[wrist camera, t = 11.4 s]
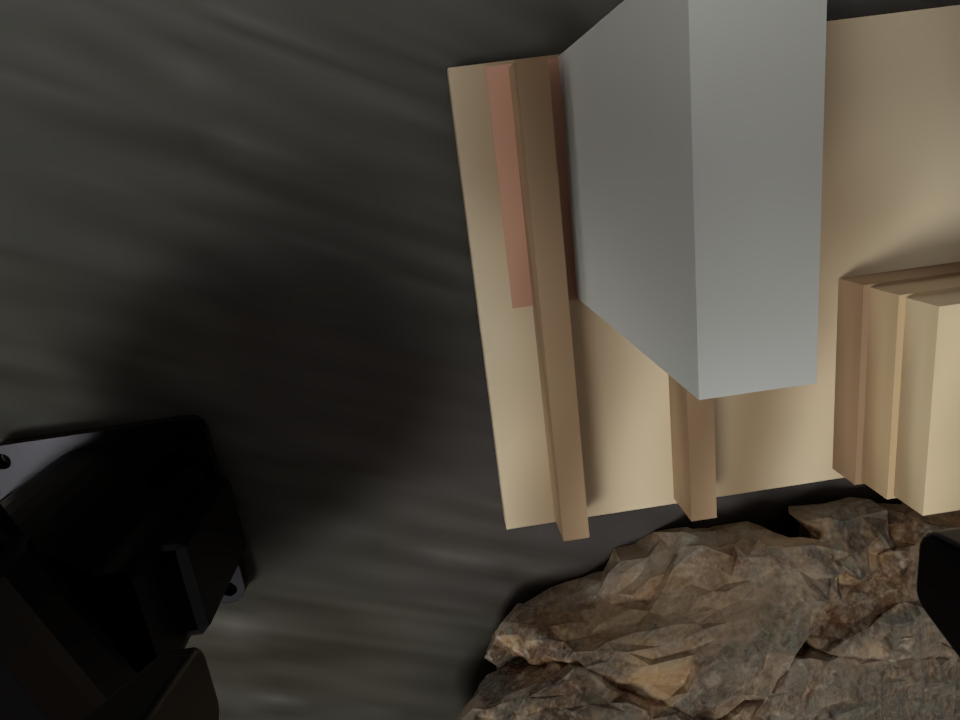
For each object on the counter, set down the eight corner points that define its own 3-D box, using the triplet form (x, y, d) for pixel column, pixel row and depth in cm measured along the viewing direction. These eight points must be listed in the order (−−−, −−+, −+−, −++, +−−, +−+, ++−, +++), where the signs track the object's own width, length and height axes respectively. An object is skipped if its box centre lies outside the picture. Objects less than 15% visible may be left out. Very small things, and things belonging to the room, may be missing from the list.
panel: (577, 298, 19) (698, 400, 11) (557, 56, 18) (687, -53, 9) (643, 288, 20) (816, 383, 11) (631, 47, 18) (828, -70, 9)
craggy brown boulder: (447, 838, 27) (926, 783, 27) (448, 979, 22) (1027, 908, 23) (412, 526, 23) (966, 473, 24) (406, 614, 18) (1097, 545, 19)
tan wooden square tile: (832, 468, 22) (855, 485, 21) (838, 278, 20) (863, 285, 19) (1004, 442, 22) (1036, 457, 21) (1026, 252, 20) (1062, 257, 19)
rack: (503, 516, 22) (512, 555, 20) (446, 72, 18) (449, 58, 16) (1011, 439, 23) (1074, 467, 21) (1062, -4, 19) (1146, -27, 17)
